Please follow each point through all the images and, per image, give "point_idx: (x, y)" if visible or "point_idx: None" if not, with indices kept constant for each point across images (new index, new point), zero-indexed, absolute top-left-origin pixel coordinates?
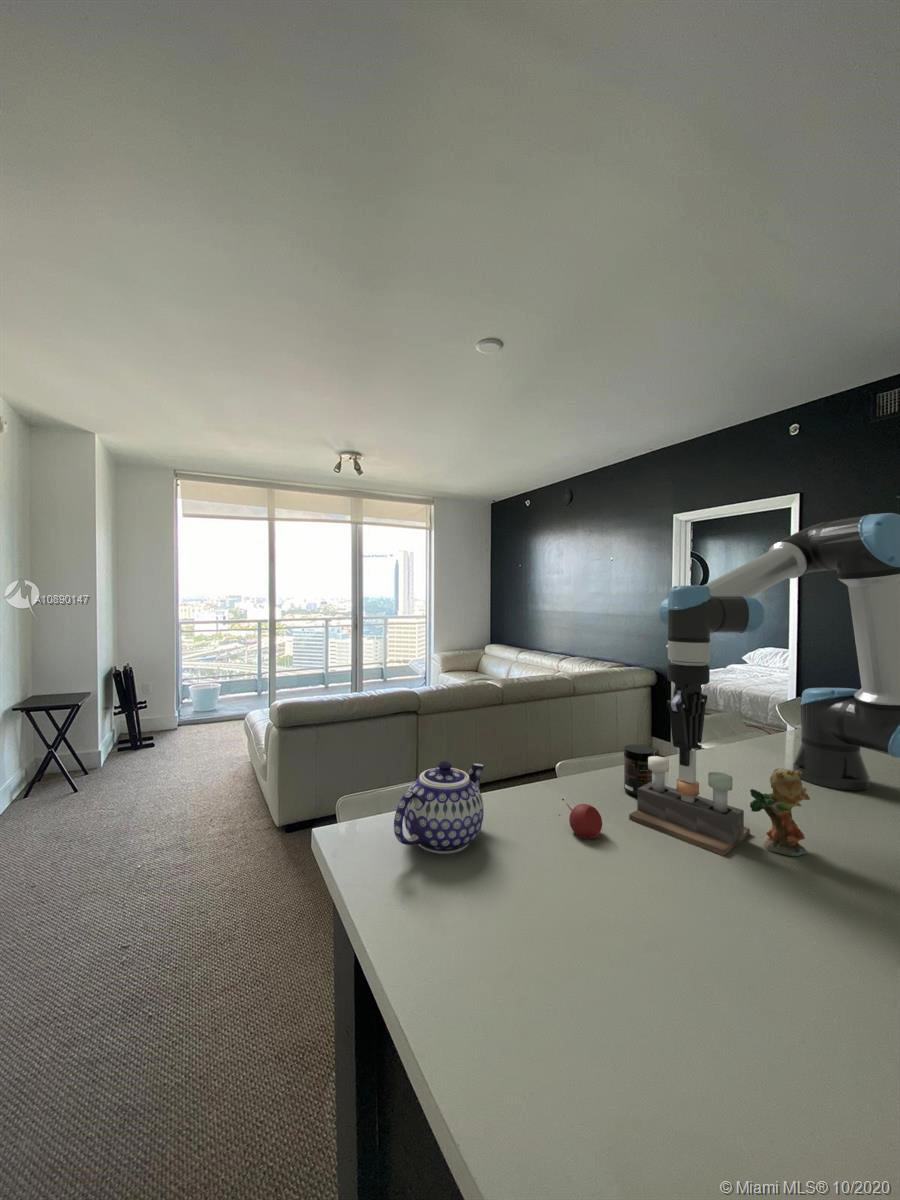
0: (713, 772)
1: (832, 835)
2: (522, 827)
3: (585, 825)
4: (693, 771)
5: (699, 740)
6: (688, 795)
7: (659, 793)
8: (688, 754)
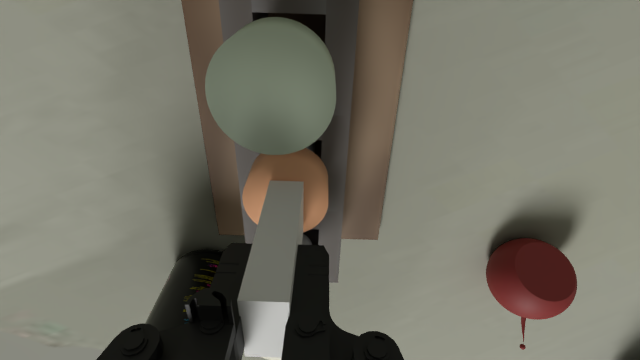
0: (244, 142)
1: None
2: (563, 328)
3: (573, 268)
4: (291, 213)
5: (151, 345)
6: (324, 165)
7: (322, 234)
8: (306, 294)
